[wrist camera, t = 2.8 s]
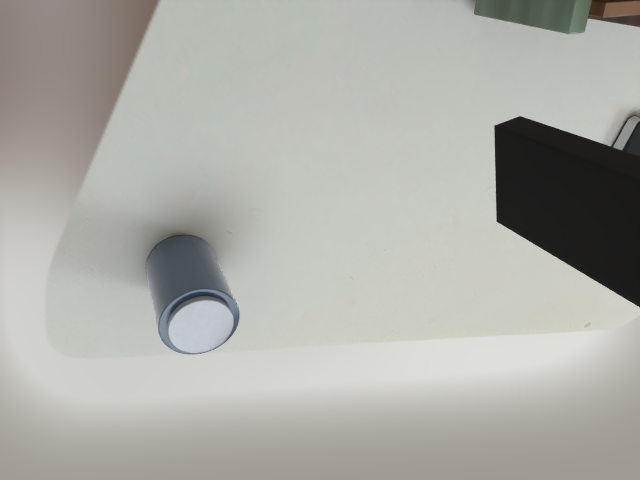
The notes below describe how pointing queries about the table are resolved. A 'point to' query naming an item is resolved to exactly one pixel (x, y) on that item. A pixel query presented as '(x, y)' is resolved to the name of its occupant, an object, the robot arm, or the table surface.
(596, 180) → the robot arm
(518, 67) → the table surface
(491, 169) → the table surface
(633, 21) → the cabinet
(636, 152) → the smartphone
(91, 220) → the table surface
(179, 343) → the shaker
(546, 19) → the drawer
